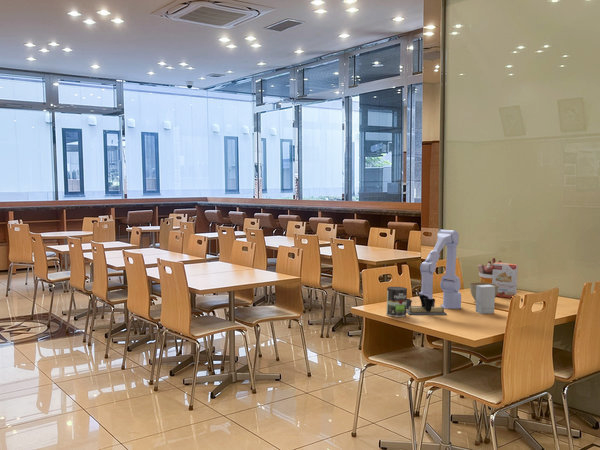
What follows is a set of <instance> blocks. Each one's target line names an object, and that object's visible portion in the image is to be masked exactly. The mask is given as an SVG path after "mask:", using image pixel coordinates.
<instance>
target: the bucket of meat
mask: <svg viewBox="0 0 600 450" xmlns="http://www.w3.org/2000/svg"><path fill="white" fill-rule="evenodd" d="M491 261H492V262H491ZM496 261H497V260H496V258H495V257H492V259H491V260H488V262H487V264H486V265H484V264H477V268H478V275H479V281H480V283H492V276H493V263H495V262H496ZM497 263H502V260H498V262H497Z"/></svg>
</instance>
